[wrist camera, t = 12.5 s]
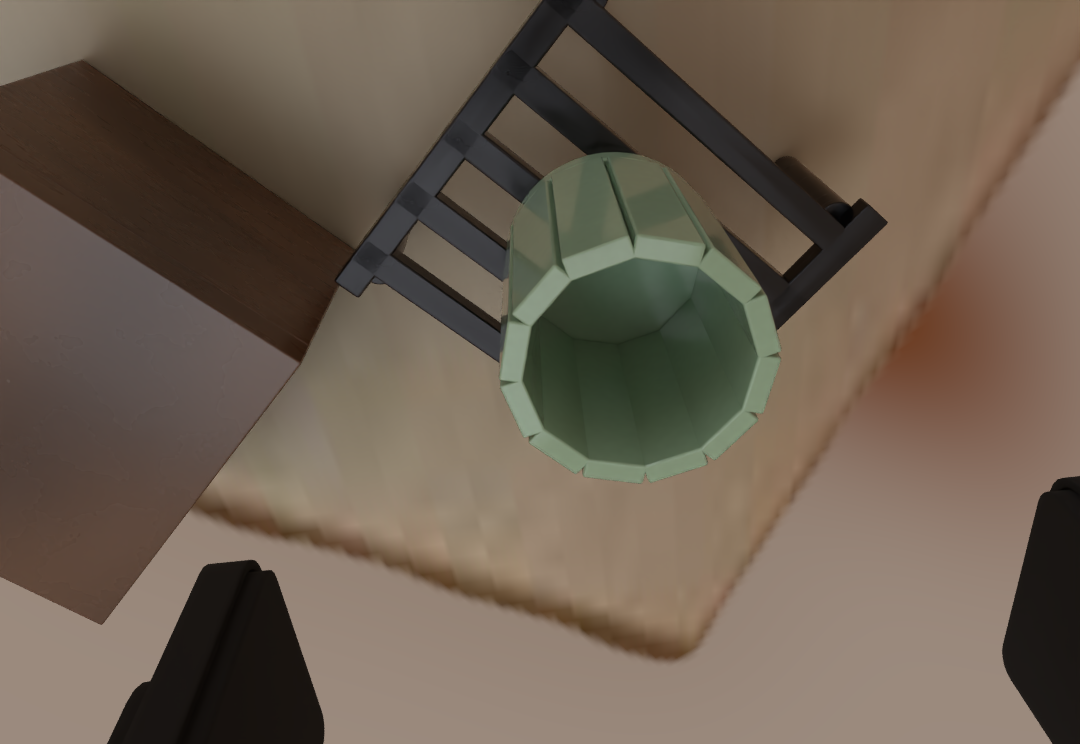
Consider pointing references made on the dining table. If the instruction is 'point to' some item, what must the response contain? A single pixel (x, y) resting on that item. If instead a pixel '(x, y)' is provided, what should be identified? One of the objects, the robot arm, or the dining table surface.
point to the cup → (630, 323)
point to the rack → (518, 74)
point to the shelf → (131, 328)
